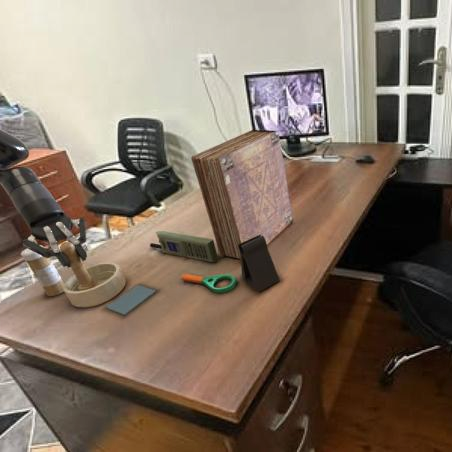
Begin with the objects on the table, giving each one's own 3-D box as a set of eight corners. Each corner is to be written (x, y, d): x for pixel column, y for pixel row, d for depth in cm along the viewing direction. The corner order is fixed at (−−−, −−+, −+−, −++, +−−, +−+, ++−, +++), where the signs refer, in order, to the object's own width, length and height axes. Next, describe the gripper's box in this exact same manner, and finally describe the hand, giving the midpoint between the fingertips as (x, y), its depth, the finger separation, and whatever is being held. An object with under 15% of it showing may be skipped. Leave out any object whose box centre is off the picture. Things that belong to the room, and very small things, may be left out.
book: (246, 263, 96) (218, 159, 82) (220, 257, 100) (189, 157, 85) (293, 220, 116) (278, 130, 101) (270, 216, 120) (252, 129, 105)
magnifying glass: (241, 279, 90) (239, 274, 89) (228, 294, 85) (226, 289, 84) (192, 273, 95) (190, 268, 94) (177, 287, 90) (175, 282, 89)
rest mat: (125, 315, 82) (124, 314, 82) (106, 308, 85) (105, 307, 85) (156, 291, 89) (156, 290, 89) (138, 285, 92) (137, 284, 92)
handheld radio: (212, 264, 98) (148, 251, 107) (220, 258, 100) (156, 246, 110) (207, 243, 95) (140, 232, 104) (215, 237, 97) (149, 227, 107)
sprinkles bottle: (49, 289, 94) (23, 248, 88) (68, 283, 96) (44, 242, 89) (45, 299, 91) (17, 256, 84) (65, 293, 92) (40, 250, 86)
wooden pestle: (86, 295, 88) (60, 248, 81) (77, 291, 89) (51, 245, 82) (101, 285, 91) (78, 239, 84) (92, 282, 92) (68, 237, 85)
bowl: (91, 314, 84) (82, 298, 81) (61, 301, 89) (52, 286, 87) (136, 282, 93) (129, 267, 91) (107, 273, 99) (100, 258, 96)
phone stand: (280, 281, 88) (271, 241, 82) (259, 293, 85) (248, 252, 79) (262, 267, 94) (253, 228, 88) (242, 277, 91) (231, 238, 85)
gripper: (-2, 210, 78) (40, 272, 77) (68, 188, 87) (107, 243, 86) (5, 225, 84) (45, 283, 83) (71, 202, 93) (107, 254, 92)
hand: (77, 262), depth 84 cm, fingers closed on wooden pestle, 2 cm apart
